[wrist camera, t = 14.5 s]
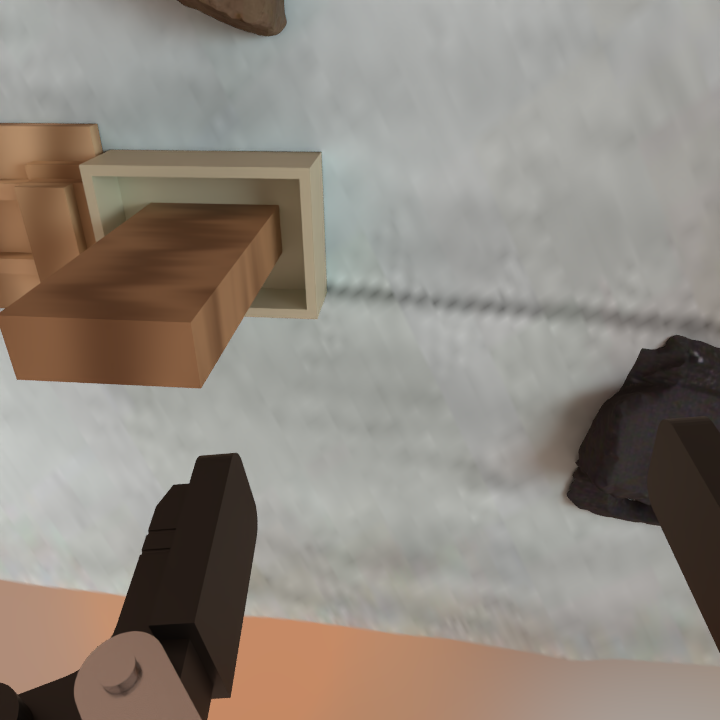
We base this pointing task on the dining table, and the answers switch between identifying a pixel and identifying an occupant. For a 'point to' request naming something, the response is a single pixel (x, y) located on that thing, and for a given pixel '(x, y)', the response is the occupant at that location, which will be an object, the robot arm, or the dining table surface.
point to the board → (147, 298)
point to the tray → (226, 186)
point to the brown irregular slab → (245, 14)
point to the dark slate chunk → (643, 426)
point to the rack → (42, 201)
